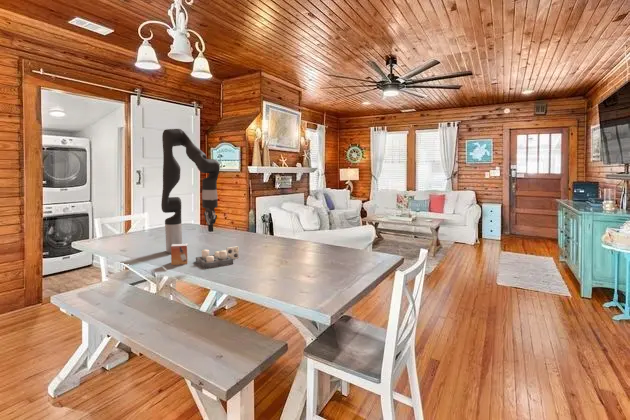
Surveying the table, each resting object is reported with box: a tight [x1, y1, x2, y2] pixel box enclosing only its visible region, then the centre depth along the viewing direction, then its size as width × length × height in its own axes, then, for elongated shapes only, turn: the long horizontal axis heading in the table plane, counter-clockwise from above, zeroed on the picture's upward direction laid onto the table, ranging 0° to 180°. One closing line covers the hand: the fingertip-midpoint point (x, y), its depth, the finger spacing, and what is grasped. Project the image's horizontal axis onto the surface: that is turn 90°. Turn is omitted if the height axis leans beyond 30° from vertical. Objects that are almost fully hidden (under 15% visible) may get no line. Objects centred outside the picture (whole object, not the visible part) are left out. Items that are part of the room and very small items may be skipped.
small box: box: [170, 243, 189, 266], centre depth 181 cm, size 8×6×10 cm
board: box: [195, 254, 234, 269], centre depth 182 cm, size 15×15×3 cm
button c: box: [201, 249, 210, 259], centre depth 183 cm, size 4×4×4 cm
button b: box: [219, 249, 227, 260], centre depth 181 cm, size 4×4×4 cm
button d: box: [214, 250, 220, 258], centre depth 187 cm, size 4×4×4 cm
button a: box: [206, 256, 214, 263], centre depth 177 cm, size 4×4×4 cm
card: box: [225, 246, 240, 260], centre depth 192 cm, size 3×7×7 cm, turn 127°
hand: (210, 231), depth 177 cm, fingers closed
